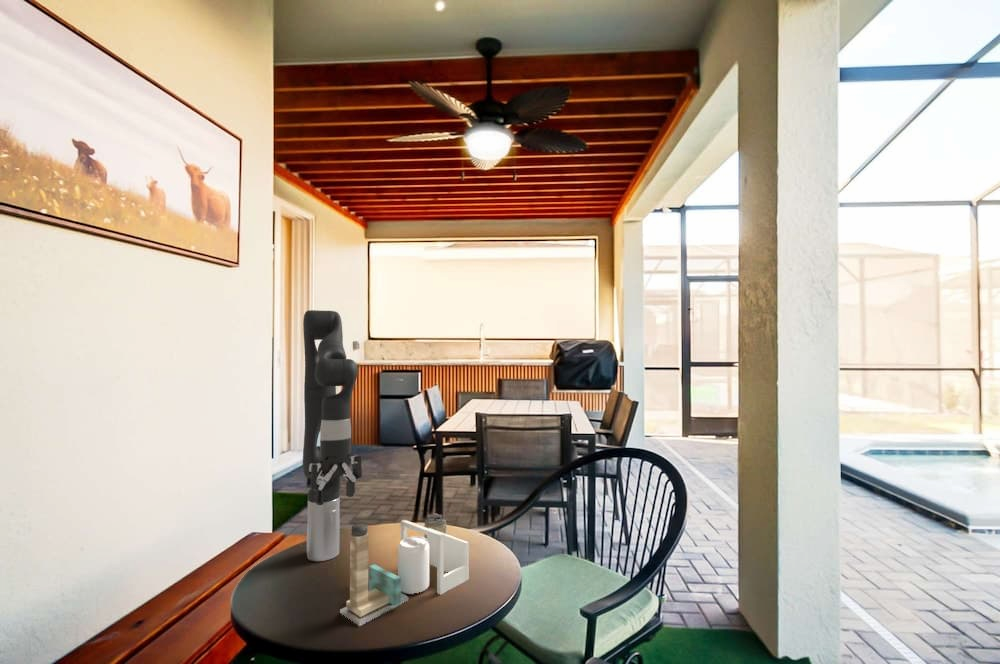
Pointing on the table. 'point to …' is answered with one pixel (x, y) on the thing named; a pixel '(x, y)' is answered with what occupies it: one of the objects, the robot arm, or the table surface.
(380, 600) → the kicker rod
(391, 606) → the white flat board
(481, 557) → the table surface
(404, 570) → the beverage can
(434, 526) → the lighter
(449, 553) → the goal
